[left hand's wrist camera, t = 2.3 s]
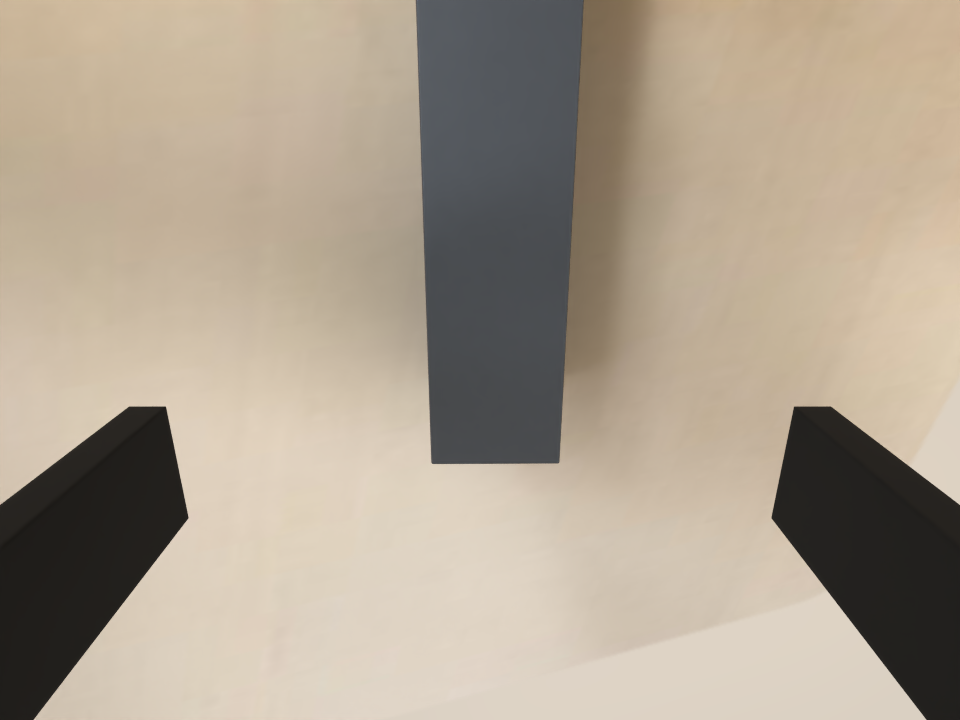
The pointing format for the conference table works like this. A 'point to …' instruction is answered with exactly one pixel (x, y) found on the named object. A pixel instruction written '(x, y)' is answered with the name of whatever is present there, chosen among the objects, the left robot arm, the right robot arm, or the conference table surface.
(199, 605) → the conference table surface
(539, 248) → the beam
